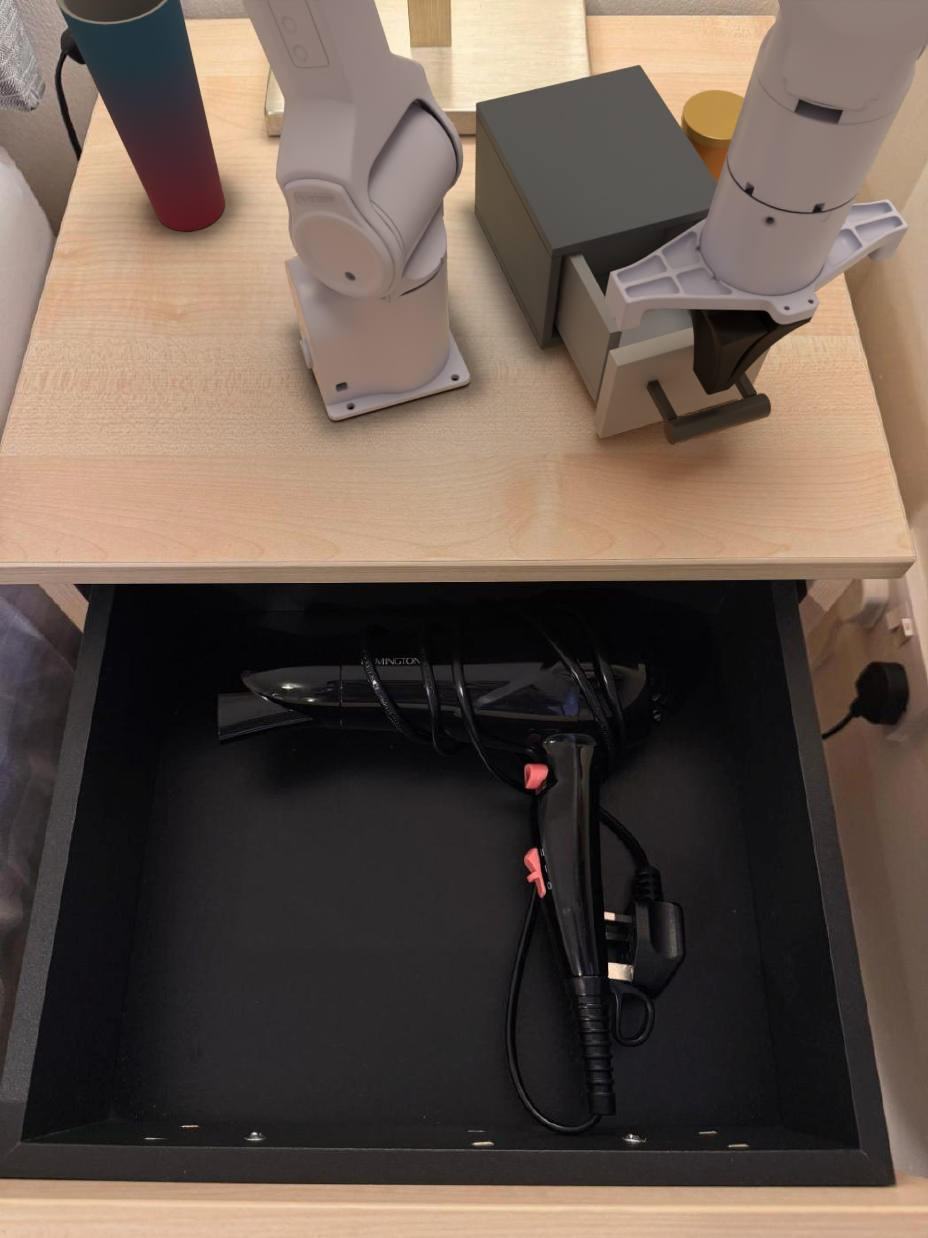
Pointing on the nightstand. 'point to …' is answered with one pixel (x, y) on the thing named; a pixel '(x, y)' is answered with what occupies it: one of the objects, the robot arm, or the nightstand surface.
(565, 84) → the cabinet
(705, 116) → the jar
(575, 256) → the drawer
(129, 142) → the cup
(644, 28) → the nightstand surface
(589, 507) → the nightstand surface
